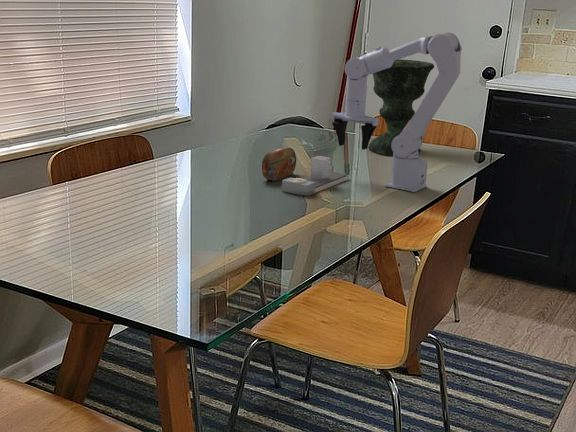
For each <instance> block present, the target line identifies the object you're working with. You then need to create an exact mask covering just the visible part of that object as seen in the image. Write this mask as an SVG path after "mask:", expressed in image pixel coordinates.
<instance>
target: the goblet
mask: <svg viewBox="0 0 576 432" xmlns="http://www.w3.org/2000/svg"><path fill="white" fill-rule="evenodd" d="M434 68H435V64H434V63H432V62H427V61H421V60H412V59H403V58H401V59H398V60H395V61H394V62H393V64H392V66H391V67H390V68H387V69H384V70H381V71H379V72H376V73H373V74H372V77H373V78H372V79H373V84H374V86H373V91H374V94H375V95H377V96H378V97H379V98H381V99H382V102H383V104H382V106H381V107H380V109H379V116H380V117H381V118H382V119H383V120H384V122H385V123H386V131H385V132H384V133H383V134H382V135H379V136H377V137H375V138H374V139H372V140H371V141H370V142H369V144H368V148H367V149H368V150H369V151H371V152H373V153H376V154H378V155H382V156H388V157H393V151H392V148H391V144H392V141H393V139H394V138H395V137H396V136H398V135H399V134H400V133H401V132H402V131H403V129H404V128H405V127H406V126H407V124H408V123H409V122H410V121H411V119H412V117H413V116H414V114H415V112H416V111H415V110H414V107H413V103H414V101H417V100H418V99H420V98H421V97H422V96H423V95H424V93H425V85H426V82H427V79H428V76H429V75H430V73H431V71H432V70H434ZM420 152H421V148H420V149H418V153H420Z"/></svg>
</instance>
